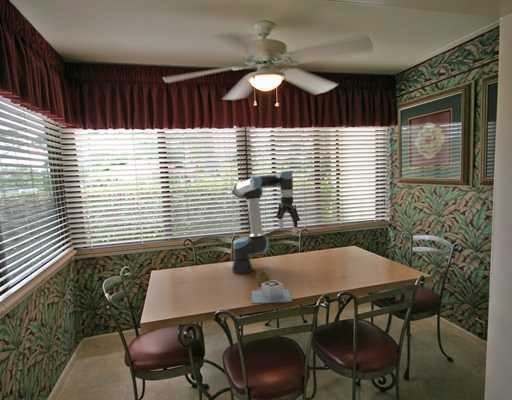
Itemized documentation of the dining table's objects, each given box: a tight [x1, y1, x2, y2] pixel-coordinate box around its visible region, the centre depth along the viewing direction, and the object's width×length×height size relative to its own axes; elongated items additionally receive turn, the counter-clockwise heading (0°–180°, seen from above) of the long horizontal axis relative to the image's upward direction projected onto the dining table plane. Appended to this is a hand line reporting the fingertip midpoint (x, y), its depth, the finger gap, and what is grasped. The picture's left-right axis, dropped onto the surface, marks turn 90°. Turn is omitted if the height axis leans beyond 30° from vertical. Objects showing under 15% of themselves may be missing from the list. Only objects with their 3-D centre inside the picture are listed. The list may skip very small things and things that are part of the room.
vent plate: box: [251, 282, 293, 305], centre depth 169 cm, size 16×22×8 cm
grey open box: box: [260, 279, 284, 300], centre depth 169 cm, size 9×9×7 cm
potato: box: [256, 269, 272, 285], centre depth 188 cm, size 8×13×8 cm, turn 10°
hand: (287, 230), depth 181 cm, fingers open, 13 cm apart
